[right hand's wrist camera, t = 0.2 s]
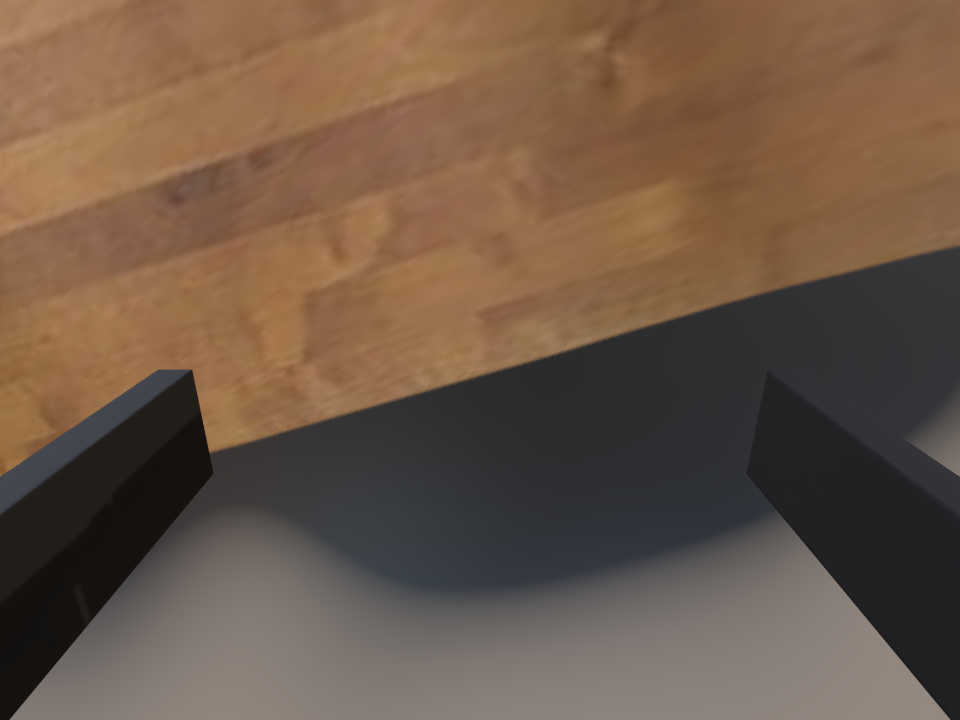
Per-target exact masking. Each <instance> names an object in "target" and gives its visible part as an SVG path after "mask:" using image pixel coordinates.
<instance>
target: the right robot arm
mask: <svg viewBox="0 0 960 720" xmlns="http://www.w3.org/2000/svg"><path fill="white" fill-rule="evenodd" d="M212 475H213V469H212V464H211V459H210V454H209V449H208V445H207V440H206V435H205V430H204V425H203V420H202V415H201V411H200V406H199V401H198V396H197V391H196V386H195V381H194V377H193V372H192V370H157V371H156V372H154V373H153V374H151V375H150V376H148V377H147V378H145V379H144V380H143V381H141V382H140V383H138V384H137V385H135V386H134V387H132V388H131V389H129V390H128V391H126V392H125V393H123V394H122V395H120V396H119V397H117V398H116V399H114V400H113V401H112V402H110V403H109V404H107V405H106V406H104V407H103V408H101V409H100V410H98V411H97V412H95V413H94V414H92V415H91V416H89V417H88V418H86V419H85V420H84V421H82V422H81V423H79V424H78V425H76V426H75V427H73V428H72V429H70V430H69V431H67V432H66V433H64V434H63V435H61V436H60V437H58V438H57V439H55V440H54V441H53V442H51V443H50V444H48V445H47V446H45V447H44V448H42V449H41V450H39V451H38V452H36V453H35V454H33V455H32V456H30V457H29V458H27V459H26V460H24V461H23V462H22V463H20V464H19V465H17V466H16V467H14V468H13V469H11V470H10V471H8V472H7V473H5V474H4V475H2V476H1V477H0V720H10V718H11V717H12V716H13V715H14V713H15V712H16V711H17V710H18V709H19V708H20V706H21V705H22V704H23V703H24V702H25V700H26V699H27V698H28V697H29V695H30V694H31V693H32V692H33V691H34V689H35V688H36V687H37V686H38V685H39V683H40V682H41V681H42V680H43V679H44V677H45V676H46V675H47V674H48V672H49V671H50V670H51V669H52V668H53V667H54V665H55V664H56V663H57V662H58V661H59V659H60V658H61V657H62V656H63V654H64V653H65V652H66V651H67V650H68V648H69V647H70V646H71V645H72V644H73V642H74V641H75V640H76V639H77V637H78V636H79V635H80V634H81V633H82V632H83V630H84V629H85V628H86V627H87V625H88V624H89V623H90V622H91V621H92V619H93V618H94V617H95V616H96V615H97V613H98V612H99V611H100V610H101V609H102V607H103V606H104V605H105V604H106V603H107V601H108V600H109V599H110V598H111V596H112V595H113V594H114V593H115V592H116V590H117V589H118V588H119V587H120V586H121V584H122V583H123V582H124V581H125V580H126V578H127V577H128V576H129V575H130V574H131V572H132V571H133V570H134V569H135V568H136V566H137V565H138V564H139V563H140V562H141V560H142V559H143V558H144V557H145V555H146V554H147V553H148V552H149V551H150V549H151V548H152V547H153V546H154V545H155V543H156V542H157V541H158V540H159V539H160V537H161V536H162V535H163V534H164V533H165V531H166V530H167V529H168V528H169V527H170V525H171V524H172V523H173V522H174V520H175V519H176V518H177V517H178V516H179V514H180V513H181V512H182V511H183V510H184V508H185V507H186V506H187V505H188V504H189V502H190V501H191V500H192V499H193V498H194V496H195V495H196V494H197V493H198V491H199V490H200V489H201V488H202V487H203V485H204V484H205V483H206V482H207V481H208V479H209V478H210V477H211V476H212ZM747 475H748V476H749V477H750V478H751V479H752V481H753V482H754V483H755V484H756V485H757V487H758V488H759V489H760V490H761V492H762V493H763V494H764V495H765V496H766V498H767V499H768V500H769V501H770V502H771V503H772V505H773V506H774V507H775V508H776V510H777V511H778V512H779V513H780V514H781V516H782V517H783V518H784V519H785V520H786V522H787V523H788V524H789V525H790V527H791V528H792V529H793V530H794V531H795V533H796V534H797V535H798V536H799V537H800V539H801V540H802V541H803V542H804V543H805V545H806V546H807V547H808V548H809V549H810V551H811V552H812V553H813V554H814V555H815V557H816V558H817V559H818V560H819V562H820V563H821V564H822V565H823V566H824V568H825V569H826V570H827V571H828V572H829V574H830V575H831V576H832V577H833V578H834V580H835V581H836V582H837V583H838V584H839V586H840V587H841V588H842V589H843V591H844V592H845V593H846V594H847V595H848V597H849V598H850V599H851V600H852V601H853V603H854V604H855V605H856V606H857V607H858V609H859V610H860V611H861V612H862V613H863V615H864V616H865V617H866V618H867V619H868V621H869V622H870V623H871V624H872V626H873V627H874V628H875V629H876V630H877V631H878V633H879V634H880V635H881V636H882V638H883V639H884V640H885V641H886V642H887V644H888V645H889V646H890V647H891V648H892V650H893V651H894V652H895V653H896V654H897V656H898V657H899V658H900V659H901V660H902V662H903V663H904V664H905V665H906V666H907V668H908V669H909V670H910V671H911V673H912V674H913V675H914V676H915V677H916V679H917V680H918V681H919V682H920V683H921V685H922V686H923V687H924V688H925V689H926V691H927V692H928V693H929V694H930V696H931V697H932V698H933V699H934V700H935V702H936V703H937V704H938V705H939V706H940V708H941V709H942V710H943V711H944V712H945V714H946V715H947V716H948V717H949V718H950V720H960V477H959V476H958V475H956V474H955V473H953V472H952V471H950V470H949V469H947V468H946V467H944V466H943V465H941V464H940V463H938V462H937V461H935V460H934V459H933V458H931V457H930V456H928V455H927V454H925V453H924V452H922V451H921V450H919V449H918V448H916V447H915V446H913V445H912V444H910V443H909V442H907V441H906V440H905V439H903V438H902V437H900V436H899V435H897V434H896V433H894V432H893V431H891V430H890V429H888V428H887V427H885V426H884V425H882V424H881V423H879V422H878V421H876V420H875V419H873V418H872V417H870V416H869V415H868V414H866V413H865V412H863V411H862V410H860V409H859V408H857V407H856V406H854V405H853V404H851V403H850V402H848V401H847V400H846V399H844V398H843V397H841V396H840V395H838V394H837V393H835V392H834V391H832V390H831V389H829V388H828V387H826V386H825V385H823V384H822V383H820V382H819V381H817V380H816V379H814V378H813V377H812V376H810V375H809V374H807V373H806V372H804V371H803V370H768V372H767V377H766V381H765V386H764V391H763V396H762V401H761V406H760V411H759V415H758V420H757V425H756V430H755V435H754V440H753V445H752V449H751V454H750V459H749V464H748V469H747Z"/></svg>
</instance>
